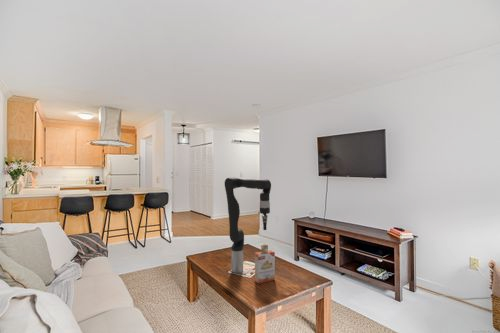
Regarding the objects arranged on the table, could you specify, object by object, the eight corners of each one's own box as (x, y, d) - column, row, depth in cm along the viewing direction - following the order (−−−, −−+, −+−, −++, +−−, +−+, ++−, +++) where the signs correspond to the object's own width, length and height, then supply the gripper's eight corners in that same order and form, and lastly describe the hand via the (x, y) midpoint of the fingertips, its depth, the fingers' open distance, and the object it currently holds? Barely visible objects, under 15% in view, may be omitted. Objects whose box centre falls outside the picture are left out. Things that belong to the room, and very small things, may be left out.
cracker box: (258, 284, 186) (258, 254, 186) (254, 281, 192) (254, 252, 192) (275, 280, 193) (275, 251, 193) (271, 277, 198) (270, 249, 198)
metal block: (261, 253, 190) (261, 245, 190) (261, 251, 195) (261, 243, 195) (268, 253, 189) (267, 245, 189) (267, 251, 194) (267, 243, 194)
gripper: (259, 205, 200) (260, 226, 201) (259, 208, 186) (259, 230, 186) (269, 205, 200) (269, 226, 200) (270, 208, 186) (270, 231, 186)
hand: (264, 228), depth 193 cm, fingers open, 8 cm apart
